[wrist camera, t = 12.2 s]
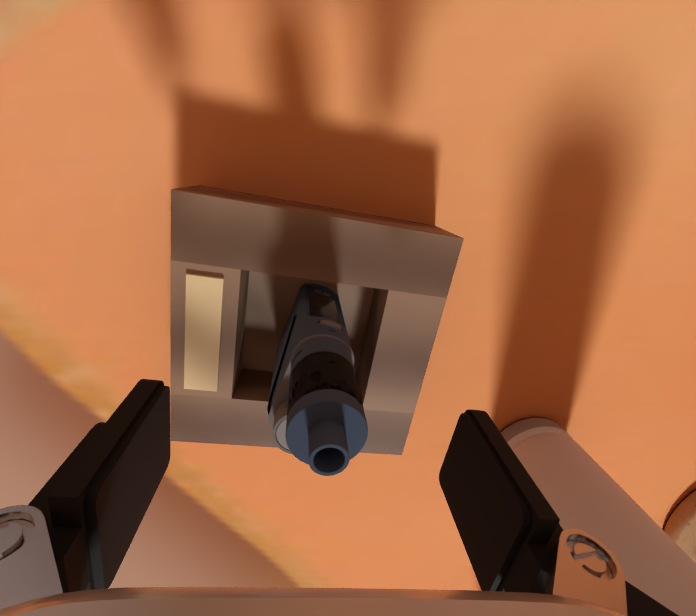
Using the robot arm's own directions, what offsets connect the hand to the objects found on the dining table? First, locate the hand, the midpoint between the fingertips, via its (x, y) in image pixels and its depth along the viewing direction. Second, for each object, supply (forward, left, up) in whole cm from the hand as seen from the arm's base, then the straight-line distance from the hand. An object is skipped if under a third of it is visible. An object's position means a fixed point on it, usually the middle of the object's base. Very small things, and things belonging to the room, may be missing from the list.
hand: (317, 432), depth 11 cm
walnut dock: (+1, 0, -11) cm, 11 cm away
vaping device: (0, 0, -10) cm, 10 cm away
